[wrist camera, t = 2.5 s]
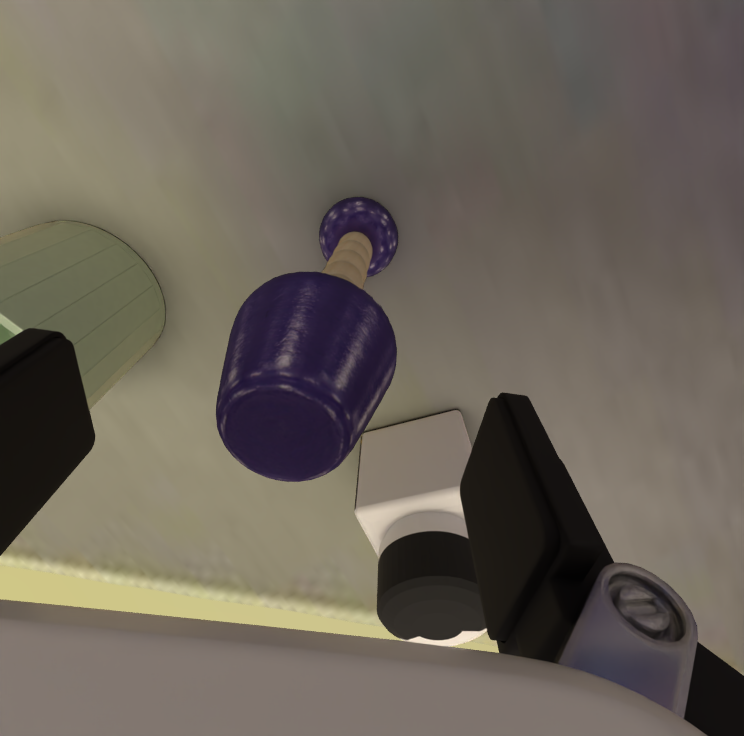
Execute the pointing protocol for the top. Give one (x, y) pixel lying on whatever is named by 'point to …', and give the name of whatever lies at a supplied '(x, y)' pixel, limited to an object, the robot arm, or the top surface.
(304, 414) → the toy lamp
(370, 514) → the medicine bottle
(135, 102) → the top surface
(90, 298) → the mug
